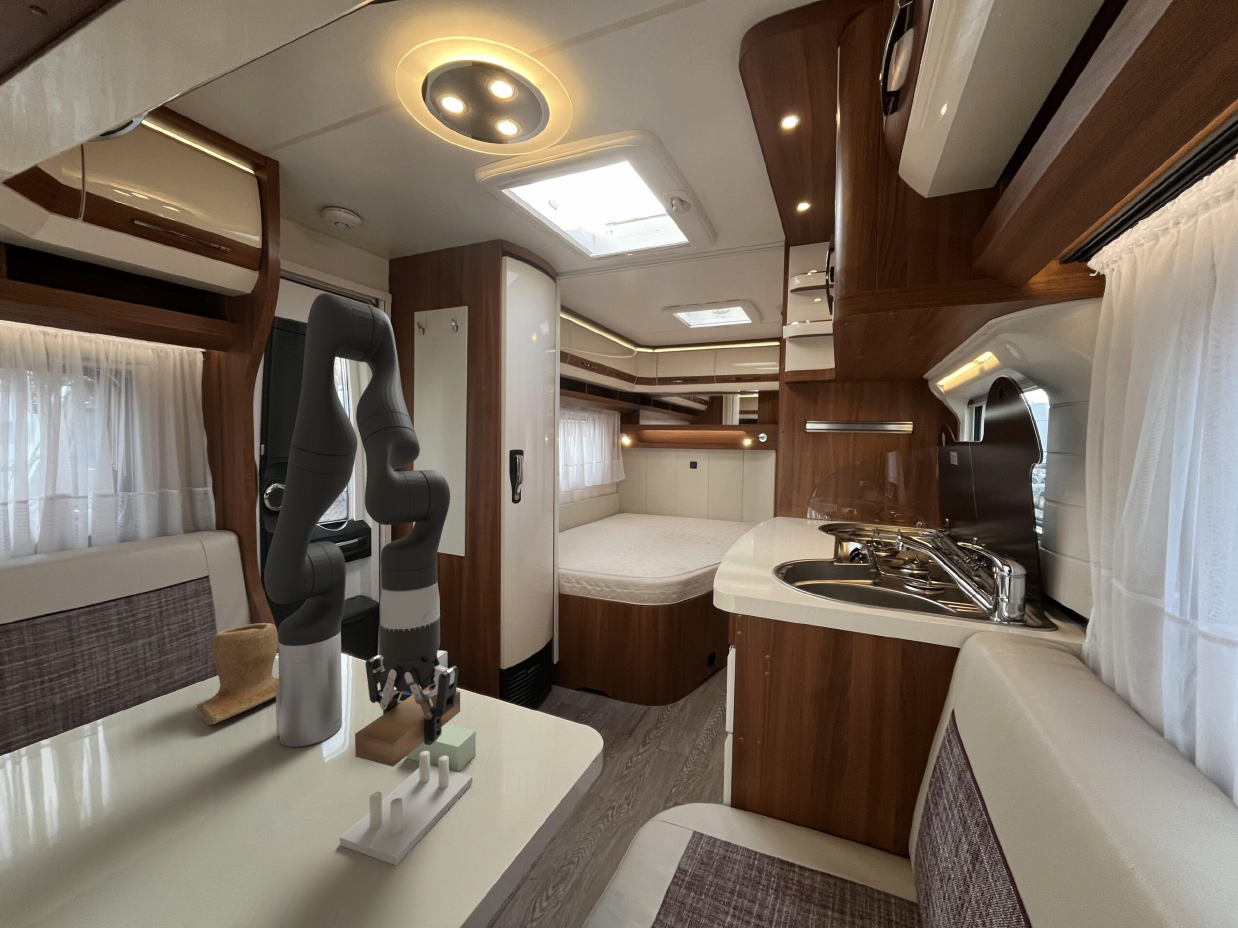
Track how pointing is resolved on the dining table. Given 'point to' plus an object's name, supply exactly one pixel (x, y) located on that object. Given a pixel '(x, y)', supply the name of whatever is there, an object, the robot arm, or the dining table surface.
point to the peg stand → (406, 811)
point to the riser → (450, 747)
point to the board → (396, 732)
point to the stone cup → (242, 670)
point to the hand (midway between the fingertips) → (412, 736)
